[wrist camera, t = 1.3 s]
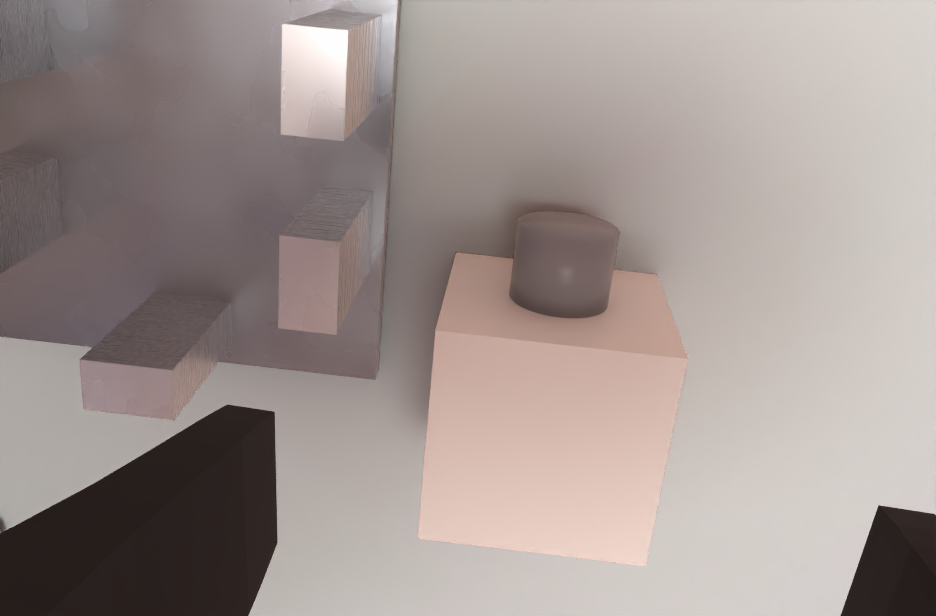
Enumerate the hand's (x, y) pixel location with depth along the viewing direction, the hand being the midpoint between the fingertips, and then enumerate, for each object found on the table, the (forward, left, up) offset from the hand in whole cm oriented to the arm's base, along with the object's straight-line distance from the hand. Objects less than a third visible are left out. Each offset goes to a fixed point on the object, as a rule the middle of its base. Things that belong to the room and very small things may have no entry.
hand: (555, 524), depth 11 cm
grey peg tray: (+2, +12, -12) cm, 17 cm away
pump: (-3, 0, -12) cm, 13 cm away
